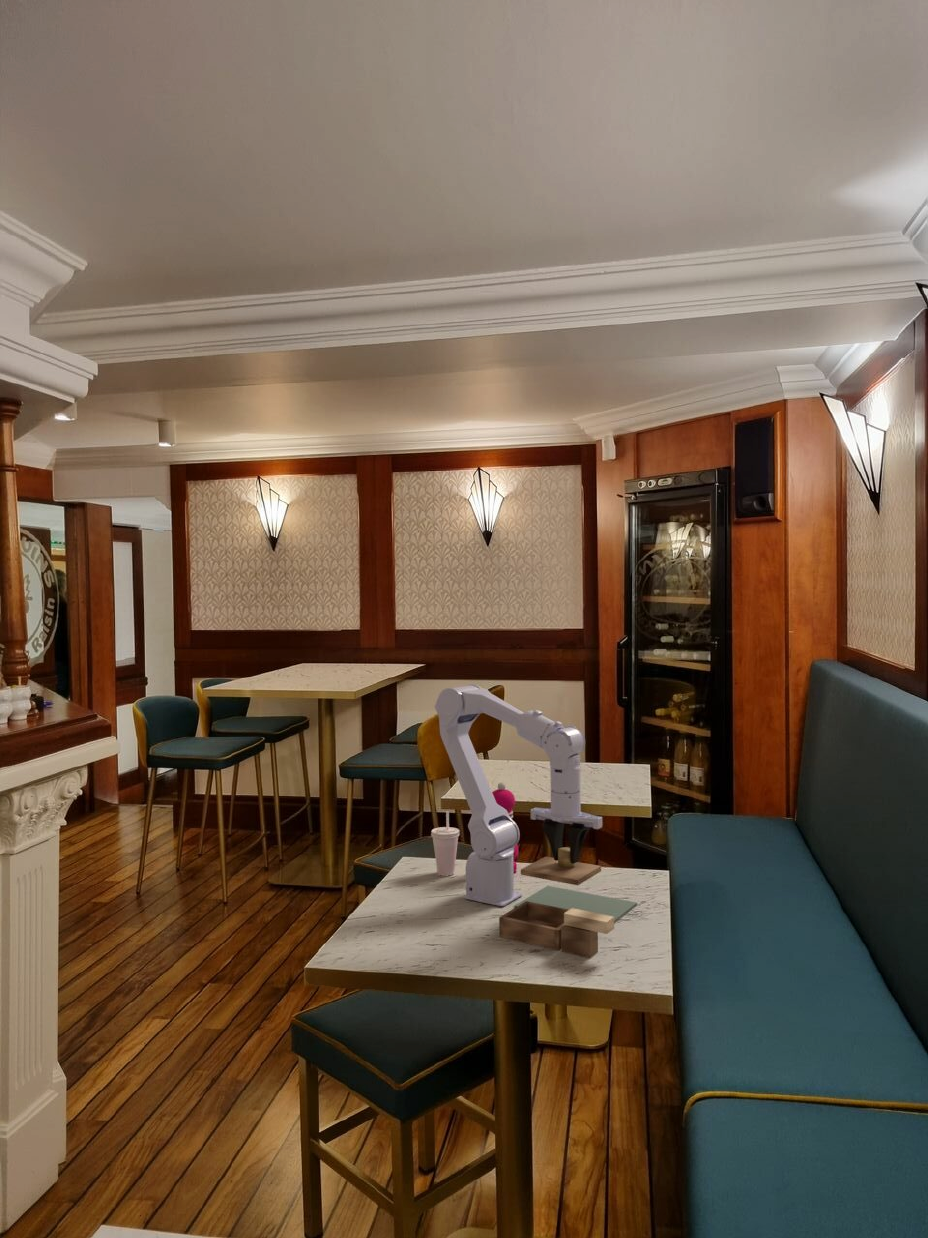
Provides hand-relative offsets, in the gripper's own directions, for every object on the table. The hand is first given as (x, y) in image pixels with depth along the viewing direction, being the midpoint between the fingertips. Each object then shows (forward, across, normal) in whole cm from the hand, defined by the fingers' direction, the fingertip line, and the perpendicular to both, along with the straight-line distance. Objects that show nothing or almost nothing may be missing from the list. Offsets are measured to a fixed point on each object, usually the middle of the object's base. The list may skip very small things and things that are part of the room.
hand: (566, 860), depth 168 cm
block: (+6, +12, -15) cm, 20 cm away
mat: (+10, 0, +4) cm, 11 cm away
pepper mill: (+11, -24, +16) cm, 31 cm away
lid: (+2, 0, -2) cm, 3 cm away
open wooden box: (+10, +4, -11) cm, 16 cm away
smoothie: (+11, -34, +8) cm, 37 cm away
